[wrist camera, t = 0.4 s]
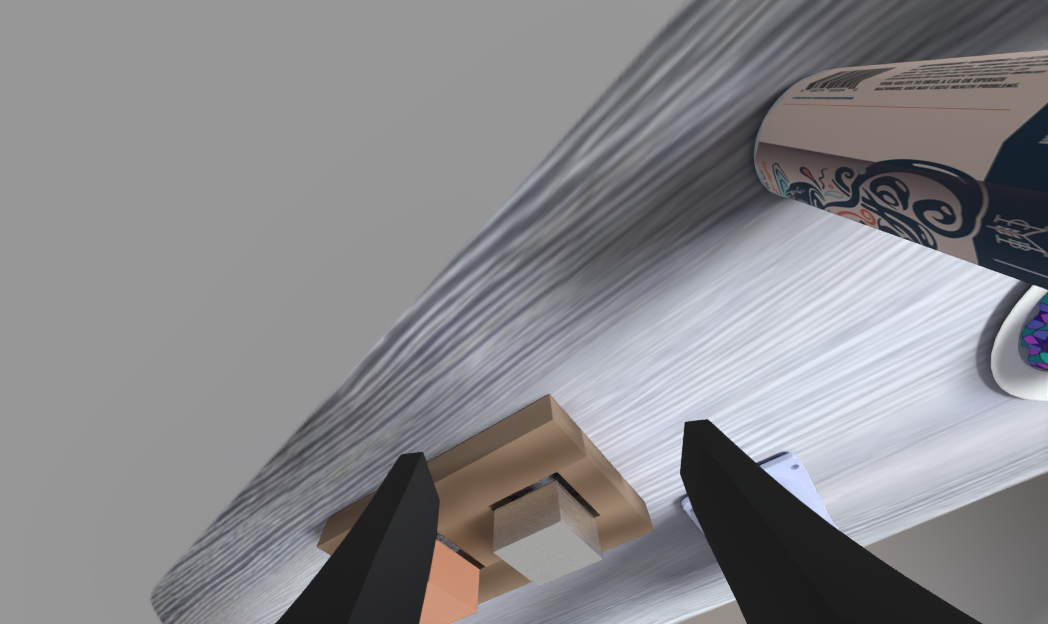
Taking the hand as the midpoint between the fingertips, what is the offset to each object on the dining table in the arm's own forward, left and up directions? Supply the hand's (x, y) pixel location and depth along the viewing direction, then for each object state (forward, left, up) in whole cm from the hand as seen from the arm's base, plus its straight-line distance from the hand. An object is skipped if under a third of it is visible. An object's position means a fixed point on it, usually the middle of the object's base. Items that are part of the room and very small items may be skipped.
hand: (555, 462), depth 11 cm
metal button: (-11, +7, -8) cm, 15 cm away
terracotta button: (-11, +16, -7) cm, 21 cm away
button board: (-11, +12, -10) cm, 19 cm away
